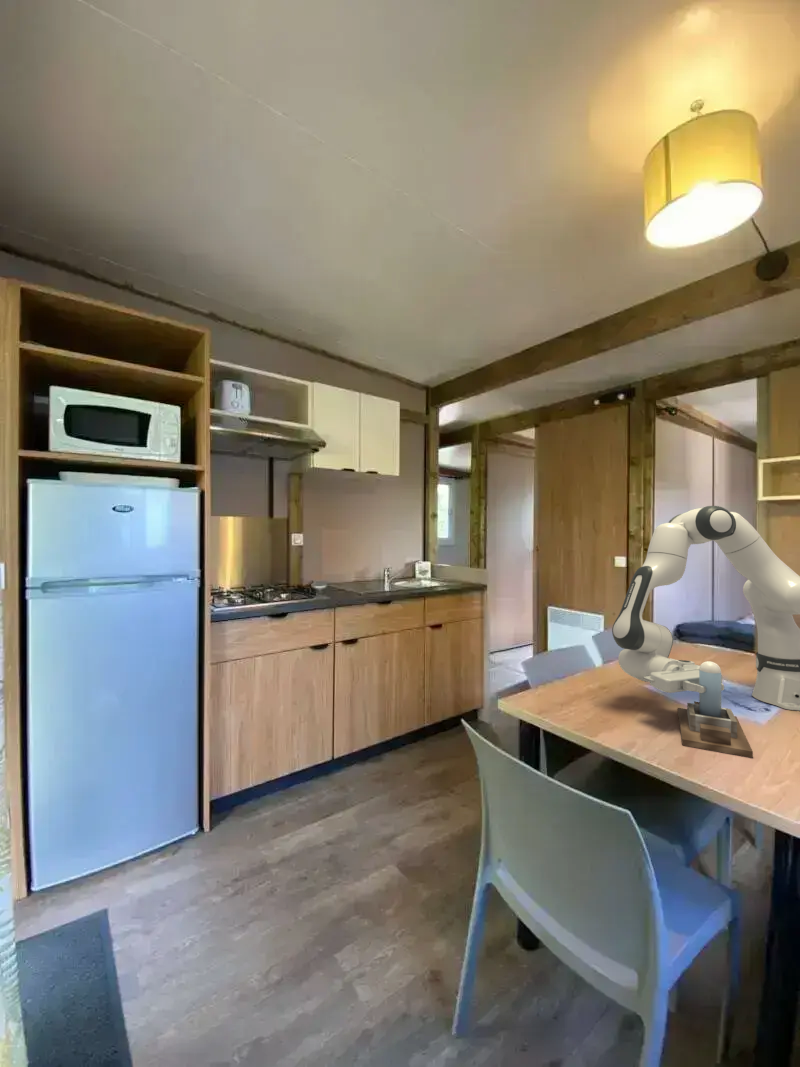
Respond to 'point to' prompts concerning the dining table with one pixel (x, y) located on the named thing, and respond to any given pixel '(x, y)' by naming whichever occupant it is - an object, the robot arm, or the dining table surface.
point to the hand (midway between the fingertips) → (713, 688)
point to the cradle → (713, 731)
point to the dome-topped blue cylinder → (710, 689)
